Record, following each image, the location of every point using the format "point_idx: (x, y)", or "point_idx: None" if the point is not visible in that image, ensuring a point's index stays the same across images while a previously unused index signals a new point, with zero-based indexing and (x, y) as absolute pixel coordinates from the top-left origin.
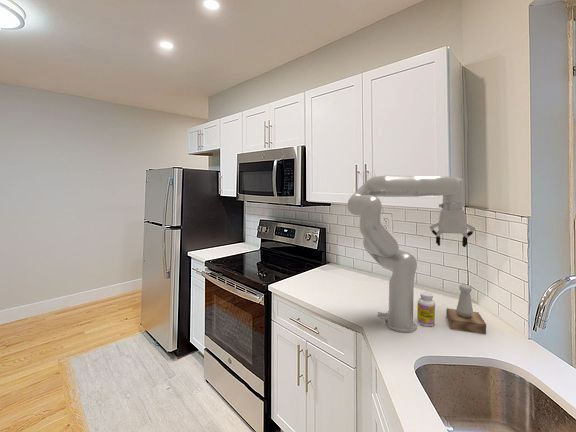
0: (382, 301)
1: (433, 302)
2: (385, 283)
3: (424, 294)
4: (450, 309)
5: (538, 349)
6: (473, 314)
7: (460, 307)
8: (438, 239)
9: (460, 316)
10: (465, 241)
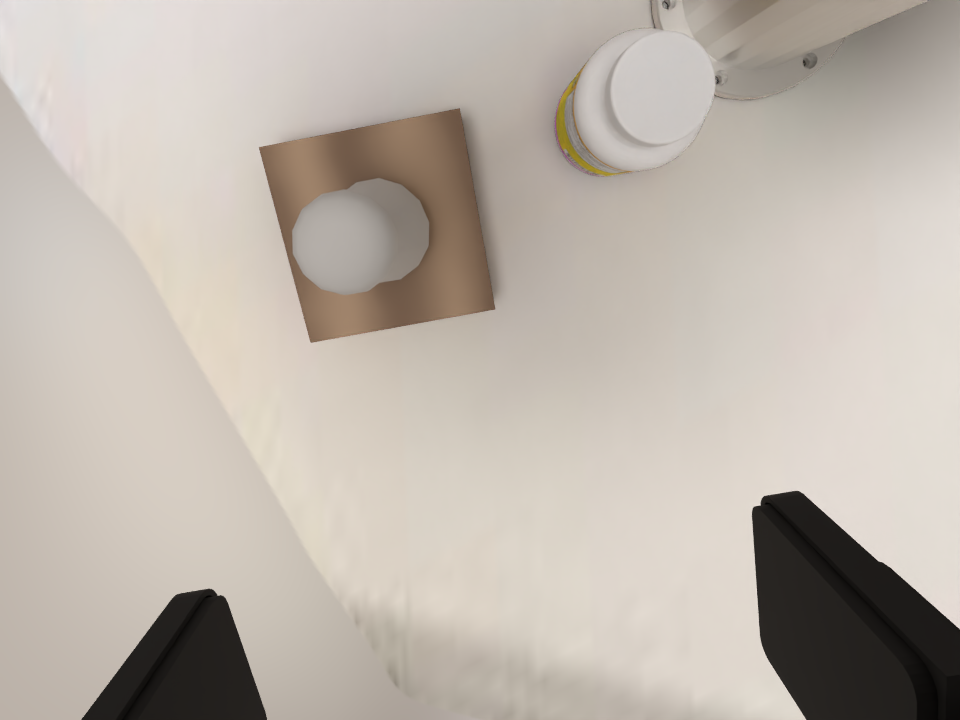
0: (892, 353)
1: (590, 79)
2: None
3: (681, 65)
4: (470, 300)
5: (39, 96)
6: None
7: (400, 192)
8: (913, 603)
9: None
10: (101, 700)
